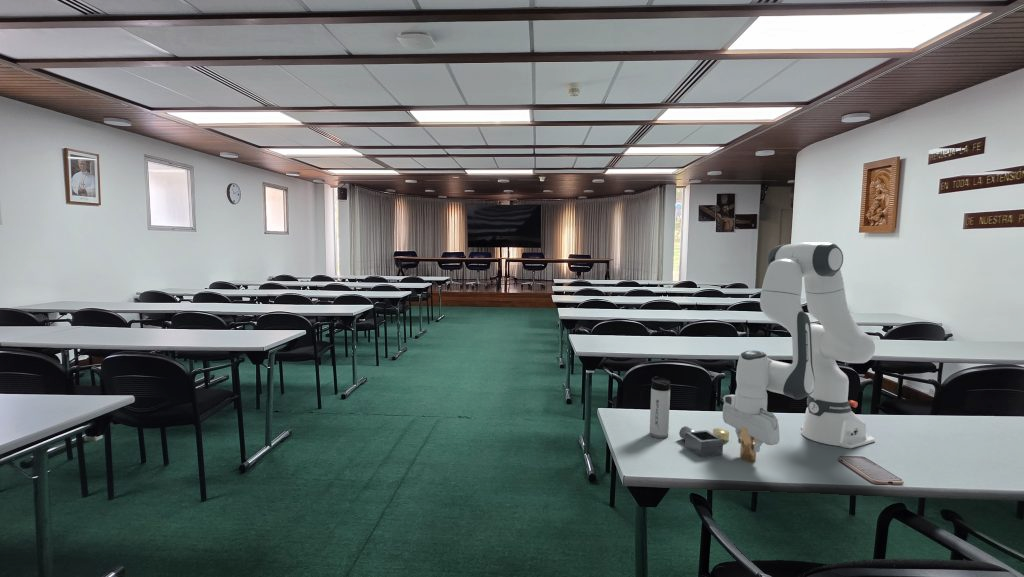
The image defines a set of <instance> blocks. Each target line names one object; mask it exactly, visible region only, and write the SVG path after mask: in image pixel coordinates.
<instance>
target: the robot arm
mask: <svg viewBox="0 0 1024 577" xmlns="http://www.w3.org/2000/svg"><path fill="white" fill-rule="evenodd" d="M766 261H767V262H766V263H767V269H766V273H765V275H764V278H763V282H762V287H761V292H760V298H759V306H760V310H761V312H762V314H764V315H765V316H766V317H767V318H768V319H769V320H771V321H773V322H774V323H776V324H778V325H780V326H782V327H783V328H784V329H786V330H787V331H788V332H789V333H790V335H791V336H790V337H791V341H792V342H791V343H792V344H791V345H792V363H787V362H783V361H779V360H774V359H771V358H769V357H768V355H767V353H766V352H763V351H759V350H746V351H743V352H741V353H740V354H739V356H738V357H739V358H738V359H737V360H738V361H737V365H736V371H735V372H736V376H735V381H736V389H735V392H734V393H735V394H727V395H724V396H723V402H724V403H723V405H722V406H723V407H722V420H723V422H724V423H725V424H727V425H729V426H730V427H732V428H735V433H736V436H737V443H738V444H740V445H741V428H742V427H744V428H746V429H748V431H747V433H748V435H750V436H752V437H753V438H754V441H755V444H754V445H752V446H751V447H752V448H751V450H752V451H754V452H756V453H759V452H761V446H762V445H763V443H764V444H766V446H776V445H777V444H779V443H780V426H779V419H778V418H777V417H776V416H775V413H774V412H771V411H770V412H769V411H768V393H767V391H769V392H772V393H777V394H781V395H784V396H786V397H788V398H789V397H790V398H792V399H794V400H803V399H805V398H806V397H807V398H806V405H807V407H806V410H805V414H804V420H803V424H802V425H801V427H800V428H801V432H800V433H801V434H802V436H804V437H805V438H807V439H808V440H811V441H814V442H817V443H821V444H824V445H830V446H836V447H837V446H838V447H841V448H846V449H853V448H858V447H860V446H865V445H868V444H870V443H874V442H875V438H874V437H873V436H871V435H869V434H868V433H867V425H866V423H865V421H864V420H863V419H861V418H860V417H859V416H858V415H856V414H855V413H854V412H853V411H852V408H851V407H853V408H857V407H858V401H855V400H852V399H851V400H849V399H848V397H849V387H850V386H849V385H850V384H849V383H850V381H849V377H848V375H847V373H845V372H844V371H843V370H841V369H840V367H839V366H838V363H837V362H836V361H838V362H843V363H849V364H865V363H867V362H869V361H870V360H871V359H872V358H873V356H874V355H875V350H876V346H875V342H874V340H873V338H872V337H871V336H870V335H869V334H867V333H866V332H865V331H864V330H862V328H861V327H859V325H858V324H857V323H856V320H854V318H853V316H852V314H851V313H850V310H849V307H848V303H847V297H846V292H845V291H846V289H845V283H844V279H843V274H842V270H841V268H842V267H843V263H844V253H843V251H842V249H841V248H840V247H839V246H838V245H837V244H836V243H832V242H827V241H826V242H824V241H822V242H811V241H809V242H804V241H803V242H798V243H789V244H787V243H784V244H779V245H777V246H774V247H773V248H772V249H771V250H770V251H769V253H768V255H767V260H766ZM803 278H804V279H803ZM803 282H804V283H803ZM803 284H804V291H805V292H804V293H805V299H806V300H805V301H806V305H807V306H806V307H807V311H808V313H809V314H810V316H812V317H813V318H814V319H816V320H817V321H818V322H819V323H820V324H819V323H818V324H817V323H814V324H813V323H811V320H810V316H809V315H808V314H807V313H805V312H804V310H803V307H802V304H801V303H802V302H801V299H802V290H803Z"/></svg>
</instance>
